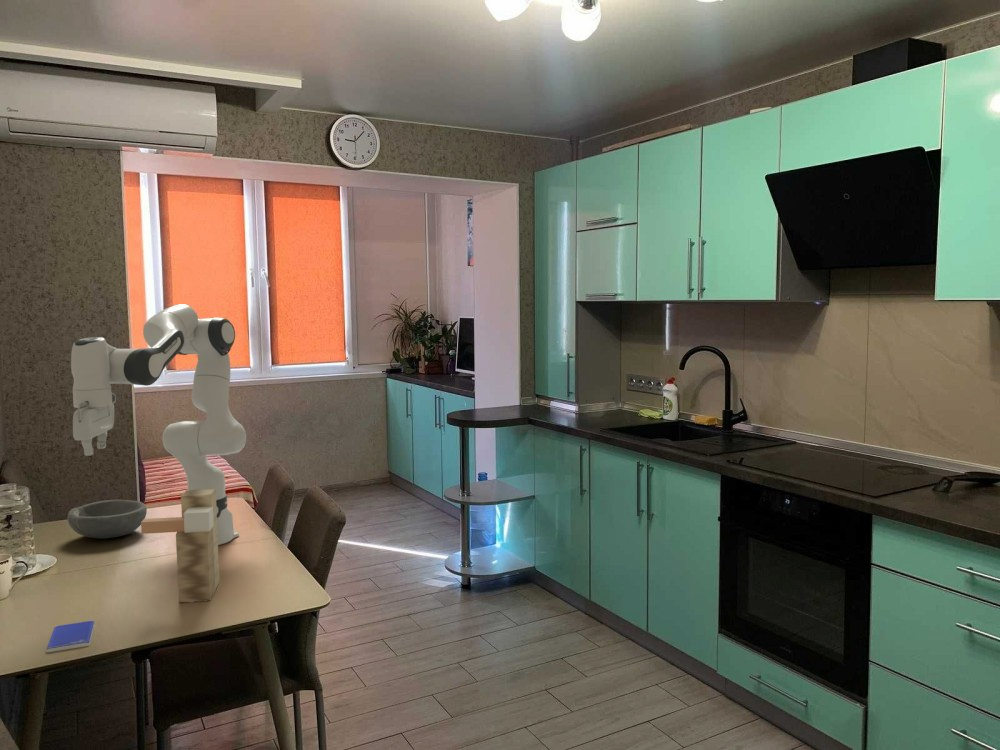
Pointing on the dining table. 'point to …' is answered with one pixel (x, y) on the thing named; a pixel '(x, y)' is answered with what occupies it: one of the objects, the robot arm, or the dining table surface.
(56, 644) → the hard drive
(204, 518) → the hammer
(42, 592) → the dining table surface
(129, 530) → the bowl
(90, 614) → the dining table surface
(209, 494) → the beige tall block
